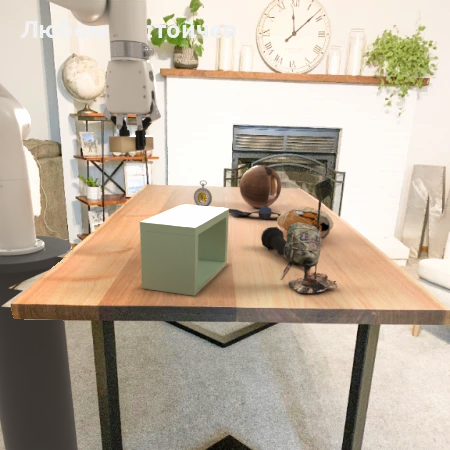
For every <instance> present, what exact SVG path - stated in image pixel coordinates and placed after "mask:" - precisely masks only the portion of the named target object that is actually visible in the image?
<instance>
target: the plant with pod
mask: <svg viewBox="0 0 450 450" xmlns="http://www.w3.org/2000/svg"><path fill="white" fill-rule="evenodd" d="M314 191H315V195H316V198H317V199H318V206H317V210H318V215H317V228H316V227H315V226H313V225H308V224H303V223H294V224H291V225H290V226H289V227H288V230H287V231H286V239H285V240H286V245H285V247H284V256H283V257H284V259H285V260H286V261H288V264H287V266H285V268H284V270H283V273H282V275H281V277H280V281H283V280H284V278H285V277H286V275H287V274H288V272H289V271H290V269H291V268H292V265H293V263H292V261H293V262H296V263H299V264H301V265H302V266H303V267H302V269H303V273H304V275H303V278H302V277H298V278H296V279H291V280H290V281H288V283H287V284H288V285H289V287H290V288H291V289H292V290H294V291H295V292H297V293H300V294H301V293H303V294H314V293H315V294H316V293H320V292H325V291H326V290H327V289H332V288H335V289H337V288H338V284H337V283H336V282H337V280H331V279H328V274H327V273H325V272H321V273H320V272H317V265H318V263H319V259H320V257H321V256H320V255H321V251H322V249H321V248H322V240H323V239H321V232H320V231H319V218H320V211H321V207H322V202H323V201H322V200H325V199H326V198H327V197H329V198H330V199H331V200H332V199H333V198H334V197H333V194H332V193H333V191H334V189H333V185H332V180H331V178H330V177H329V176H324V177H323V178H321V179H319V180H317V182H316V183H315V184H314ZM313 267H315V270H314V271H312V272H310V270H311V268H313Z"/></svg>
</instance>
